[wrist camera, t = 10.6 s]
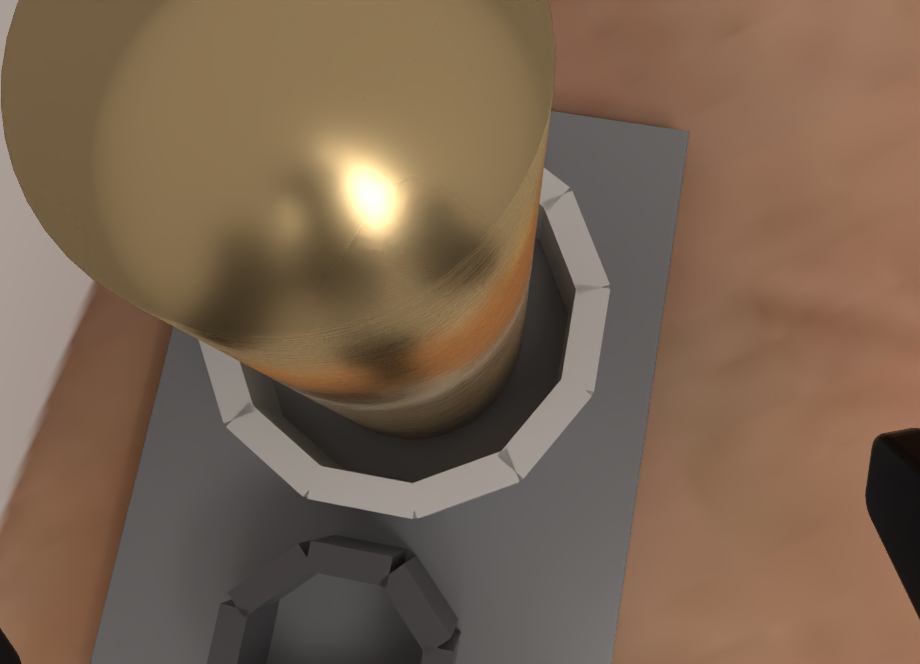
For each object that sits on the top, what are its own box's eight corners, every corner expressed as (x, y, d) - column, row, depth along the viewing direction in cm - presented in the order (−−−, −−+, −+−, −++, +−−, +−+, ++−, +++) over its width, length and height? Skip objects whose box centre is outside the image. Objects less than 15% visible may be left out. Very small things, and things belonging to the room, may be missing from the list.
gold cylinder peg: (539, 420, 20) (602, 283, 8) (320, 454, 20) (14, 376, 8) (504, 210, 21) (506, -223, 9) (295, 244, 21) (-11, -136, 9)
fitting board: (577, 857, 19) (592, 931, 16) (84, 748, 20) (3, 796, 17) (682, 144, 22) (713, 84, 19) (246, 79, 23) (204, 11, 20)
